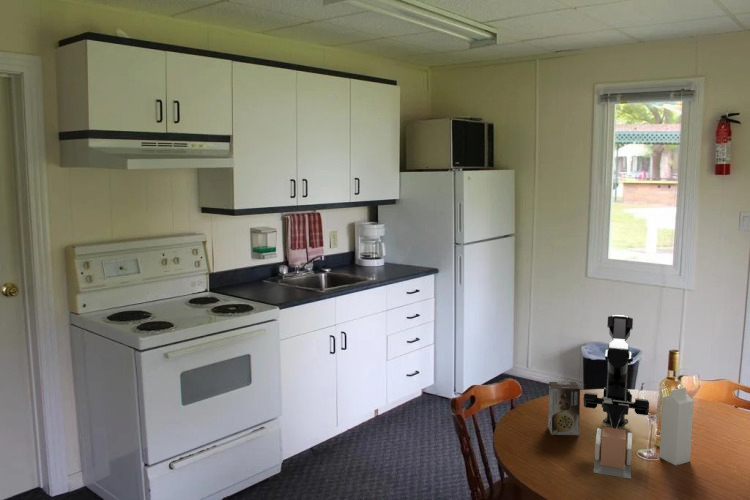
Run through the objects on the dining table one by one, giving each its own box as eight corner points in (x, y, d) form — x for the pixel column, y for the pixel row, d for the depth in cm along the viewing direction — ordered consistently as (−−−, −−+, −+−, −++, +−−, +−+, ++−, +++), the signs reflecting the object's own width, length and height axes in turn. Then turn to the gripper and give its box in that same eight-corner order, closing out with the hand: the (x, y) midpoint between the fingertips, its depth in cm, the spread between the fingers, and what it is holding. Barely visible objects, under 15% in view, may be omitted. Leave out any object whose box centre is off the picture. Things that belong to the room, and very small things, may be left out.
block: (601, 454, 190) (602, 426, 189) (624, 458, 188) (626, 430, 187) (600, 465, 184) (601, 436, 183) (624, 469, 181) (625, 439, 180)
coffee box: (575, 427, 210) (576, 381, 208) (579, 435, 204) (581, 388, 202) (547, 426, 211) (548, 380, 209) (550, 435, 205) (552, 387, 203)
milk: (690, 462, 186) (695, 390, 183) (675, 466, 183) (680, 393, 180) (673, 453, 191) (677, 384, 188) (658, 457, 189) (662, 387, 186)
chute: (596, 443, 199) (597, 428, 198) (631, 448, 195) (631, 433, 194) (593, 472, 180) (593, 456, 179) (631, 478, 176) (631, 462, 175)
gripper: (647, 398, 199) (646, 445, 191) (586, 390, 206) (582, 435, 198) (649, 381, 191) (648, 430, 182) (585, 374, 198) (581, 421, 189)
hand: (614, 429), depth 188 cm, fingers closed, pressing on block
